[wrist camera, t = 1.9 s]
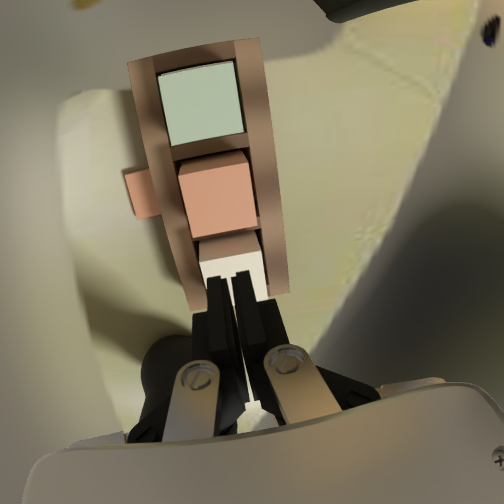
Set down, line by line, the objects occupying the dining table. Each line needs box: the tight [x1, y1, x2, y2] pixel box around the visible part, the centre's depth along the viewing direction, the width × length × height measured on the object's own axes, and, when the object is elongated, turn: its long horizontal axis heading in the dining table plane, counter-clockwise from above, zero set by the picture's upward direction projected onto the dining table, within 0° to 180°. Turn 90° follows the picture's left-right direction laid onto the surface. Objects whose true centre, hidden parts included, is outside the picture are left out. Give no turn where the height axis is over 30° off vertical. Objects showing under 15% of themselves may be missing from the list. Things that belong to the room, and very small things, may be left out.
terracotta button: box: [178, 150, 258, 238], centre depth 23 cm, size 4×4×4 cm
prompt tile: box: [125, 168, 161, 220], centre depth 25 cm, size 4×2×1 cm, turn 8°
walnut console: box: [127, 38, 290, 311], centre depth 24 cm, size 21×9×3 cm, turn 8°
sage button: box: [158, 63, 244, 146], centre depth 19 cm, size 4×4×4 cm
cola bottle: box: [139, 336, 192, 422], centre depth 22 cm, size 8×8×30 cm
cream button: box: [199, 230, 268, 306], centre depth 26 cm, size 4×4×4 cm
